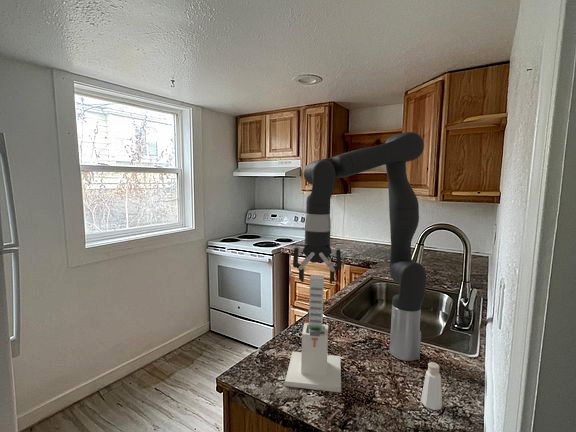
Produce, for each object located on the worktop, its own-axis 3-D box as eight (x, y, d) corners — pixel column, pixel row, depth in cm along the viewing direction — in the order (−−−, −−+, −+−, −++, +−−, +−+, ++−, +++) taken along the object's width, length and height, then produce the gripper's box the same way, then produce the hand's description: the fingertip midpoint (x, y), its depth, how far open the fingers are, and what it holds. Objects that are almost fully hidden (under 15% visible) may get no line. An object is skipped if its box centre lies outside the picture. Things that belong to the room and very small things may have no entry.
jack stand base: (340, 360, 101) (341, 316, 99) (341, 392, 85) (342, 341, 84) (292, 355, 103) (293, 312, 102) (284, 386, 88) (285, 335, 86)
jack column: (321, 343, 95) (323, 275, 93) (321, 351, 91) (323, 279, 89) (309, 342, 96) (310, 274, 93) (308, 350, 91) (309, 279, 89)
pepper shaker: (435, 413, 78) (438, 373, 77) (416, 401, 82) (418, 363, 81) (446, 405, 81) (449, 366, 80) (427, 393, 85) (429, 356, 84)
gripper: (341, 227, 92) (340, 279, 94) (295, 226, 94) (294, 277, 96) (342, 231, 85) (340, 287, 87) (292, 229, 87) (291, 284, 89)
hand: (316, 282), depth 91 cm, fingers open, 8 cm apart
